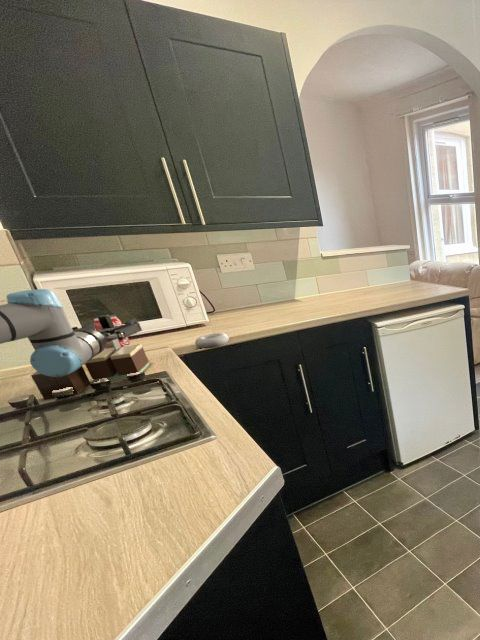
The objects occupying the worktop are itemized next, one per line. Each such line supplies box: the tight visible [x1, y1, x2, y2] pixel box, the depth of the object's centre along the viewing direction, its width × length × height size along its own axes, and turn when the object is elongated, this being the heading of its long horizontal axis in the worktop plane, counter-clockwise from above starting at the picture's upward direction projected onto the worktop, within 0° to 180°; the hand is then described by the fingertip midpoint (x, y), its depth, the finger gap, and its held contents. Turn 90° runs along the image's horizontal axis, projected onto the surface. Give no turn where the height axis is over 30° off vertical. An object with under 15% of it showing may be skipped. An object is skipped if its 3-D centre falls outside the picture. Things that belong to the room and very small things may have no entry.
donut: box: [195, 332, 230, 350], centre depth 148 cm, size 10×4×10 cm
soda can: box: [93, 315, 132, 349], centre depth 144 cm, size 7×7×12 cm
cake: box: [84, 343, 151, 384], centre depth 124 cm, size 11×12×7 cm
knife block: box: [30, 365, 92, 401], centre depth 113 cm, size 7×8×7 cm
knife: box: [97, 314, 122, 351], centre depth 125 cm, size 2×4×16 cm, turn 24°
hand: (114, 324), depth 127 cm, fingers open, 10 cm apart
